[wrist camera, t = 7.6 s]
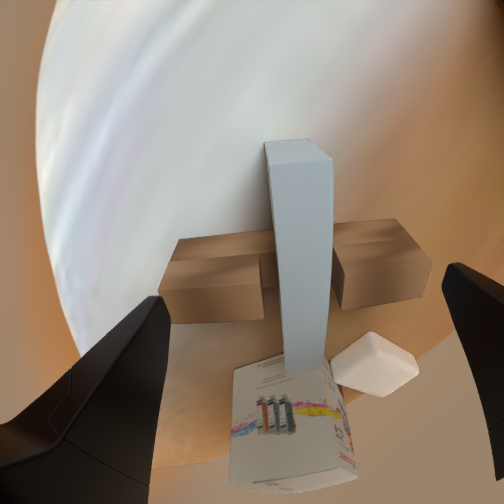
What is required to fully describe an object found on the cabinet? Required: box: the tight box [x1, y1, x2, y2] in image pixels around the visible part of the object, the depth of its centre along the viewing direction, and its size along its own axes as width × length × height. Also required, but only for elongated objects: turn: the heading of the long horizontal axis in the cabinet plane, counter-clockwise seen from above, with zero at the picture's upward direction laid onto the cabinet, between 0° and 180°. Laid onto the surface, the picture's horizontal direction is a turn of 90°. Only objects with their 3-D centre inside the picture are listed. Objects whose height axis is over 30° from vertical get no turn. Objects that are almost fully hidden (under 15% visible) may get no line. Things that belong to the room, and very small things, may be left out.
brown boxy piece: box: [158, 219, 432, 324], centre depth 15 cm, size 14×2×5 cm, turn 97°
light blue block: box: [264, 139, 334, 372], centre depth 15 cm, size 2×13×5 cm, turn 7°
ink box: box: [229, 353, 358, 495], centre depth 21 cm, size 9×9×12 cm
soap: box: [330, 331, 419, 397], centre depth 24 cm, size 9×6×3 cm, turn 54°
